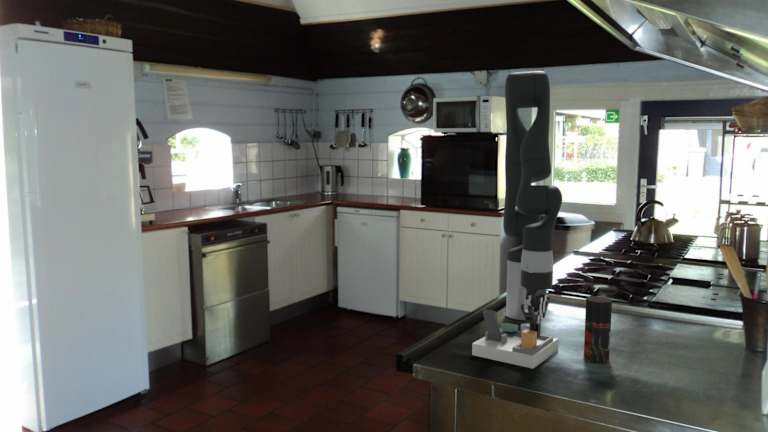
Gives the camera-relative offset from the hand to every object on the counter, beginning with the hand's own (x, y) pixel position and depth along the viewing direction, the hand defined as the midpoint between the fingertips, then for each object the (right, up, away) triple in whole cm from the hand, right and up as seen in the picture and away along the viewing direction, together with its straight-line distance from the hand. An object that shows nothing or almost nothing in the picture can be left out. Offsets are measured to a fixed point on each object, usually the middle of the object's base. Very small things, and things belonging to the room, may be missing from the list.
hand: (534, 337), depth 156 cm
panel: (-4, -5, +4) cm, 7 cm away
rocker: (-4, -1, +10) cm, 11 cm away
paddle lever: (-9, -2, +4) cm, 10 cm away
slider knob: (-2, -2, -2) cm, 4 cm away
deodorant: (+15, -5, -1) cm, 16 cm away
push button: (0, -1, +8) cm, 8 cm away
